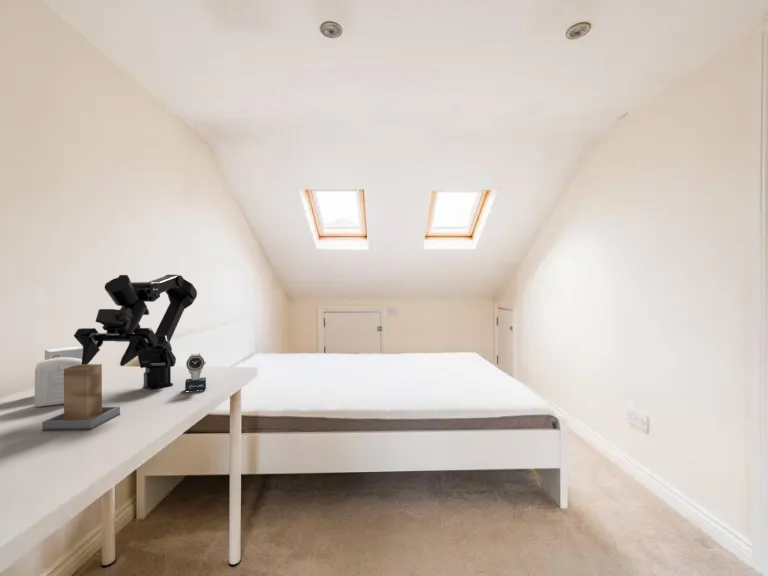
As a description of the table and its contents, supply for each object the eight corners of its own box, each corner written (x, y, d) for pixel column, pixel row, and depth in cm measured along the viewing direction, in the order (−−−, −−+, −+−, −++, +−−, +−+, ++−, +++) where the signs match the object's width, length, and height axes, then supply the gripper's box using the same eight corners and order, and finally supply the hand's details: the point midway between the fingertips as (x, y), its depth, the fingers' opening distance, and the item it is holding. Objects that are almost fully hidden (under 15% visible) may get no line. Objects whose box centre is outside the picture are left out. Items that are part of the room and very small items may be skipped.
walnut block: (80, 416, 92) (80, 364, 92) (101, 416, 93) (101, 364, 93) (64, 424, 87) (63, 368, 87) (87, 423, 88) (86, 368, 88)
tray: (77, 415, 95) (77, 407, 95) (119, 414, 95) (119, 406, 95) (42, 430, 85) (42, 421, 85) (90, 430, 85) (90, 420, 85)
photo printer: (84, 398, 109) (84, 354, 109) (83, 402, 106) (82, 357, 106) (36, 404, 104) (35, 358, 104) (32, 408, 100) (32, 361, 100)
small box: (78, 387, 121) (78, 345, 121) (83, 391, 117) (83, 348, 117) (44, 393, 115) (44, 349, 115) (48, 397, 111) (48, 351, 110)
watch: (184, 394, 113) (184, 356, 113) (186, 387, 121) (186, 352, 120) (205, 392, 115) (205, 355, 115) (206, 385, 123) (206, 351, 123)
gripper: (78, 297, 101) (44, 346, 90) (152, 297, 102) (126, 346, 91) (99, 324, 109) (70, 372, 98) (167, 324, 110) (145, 371, 99)
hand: (102, 365), depth 96 cm, fingers open, 9 cm apart
